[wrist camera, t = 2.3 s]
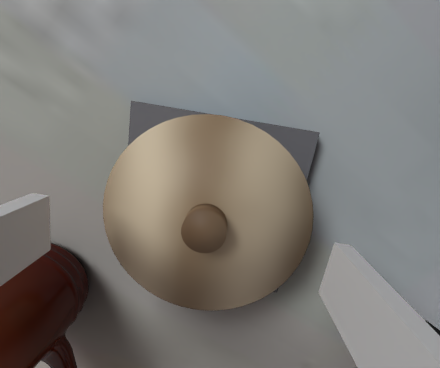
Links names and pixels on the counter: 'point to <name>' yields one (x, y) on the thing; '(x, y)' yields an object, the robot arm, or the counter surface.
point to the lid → (208, 212)
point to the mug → (41, 311)
